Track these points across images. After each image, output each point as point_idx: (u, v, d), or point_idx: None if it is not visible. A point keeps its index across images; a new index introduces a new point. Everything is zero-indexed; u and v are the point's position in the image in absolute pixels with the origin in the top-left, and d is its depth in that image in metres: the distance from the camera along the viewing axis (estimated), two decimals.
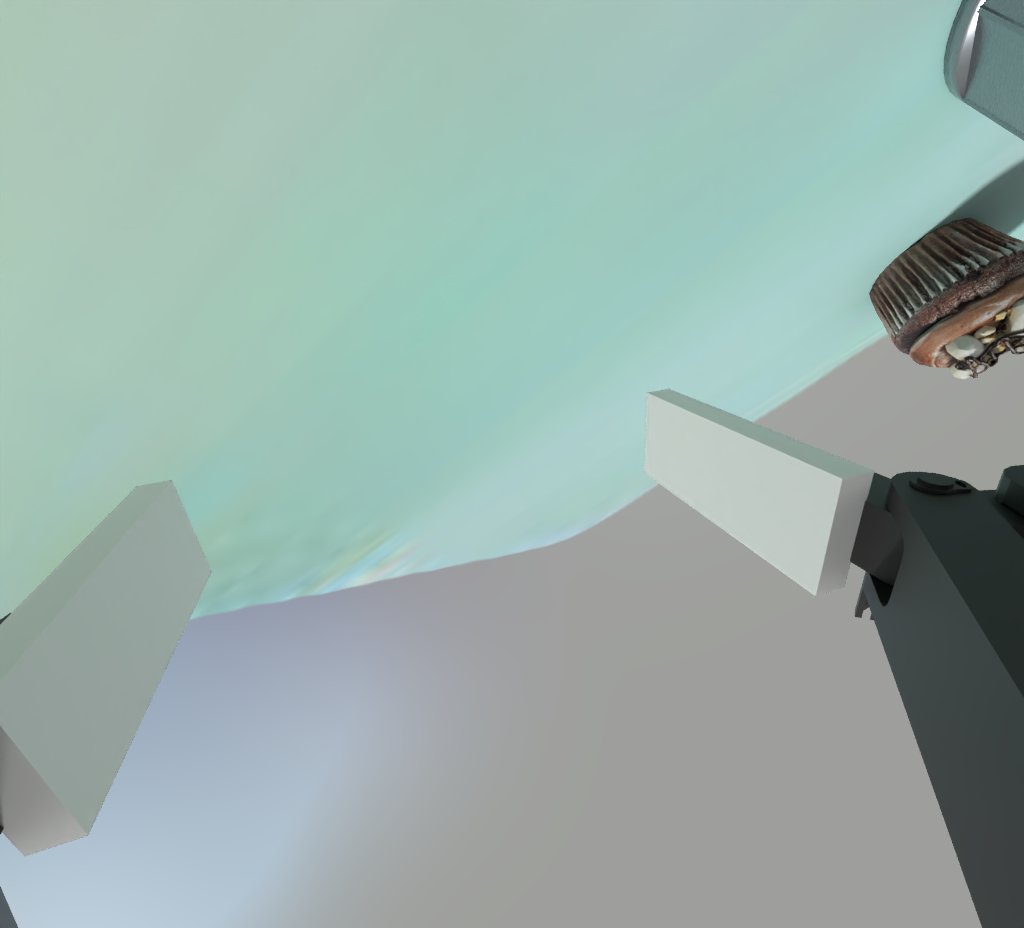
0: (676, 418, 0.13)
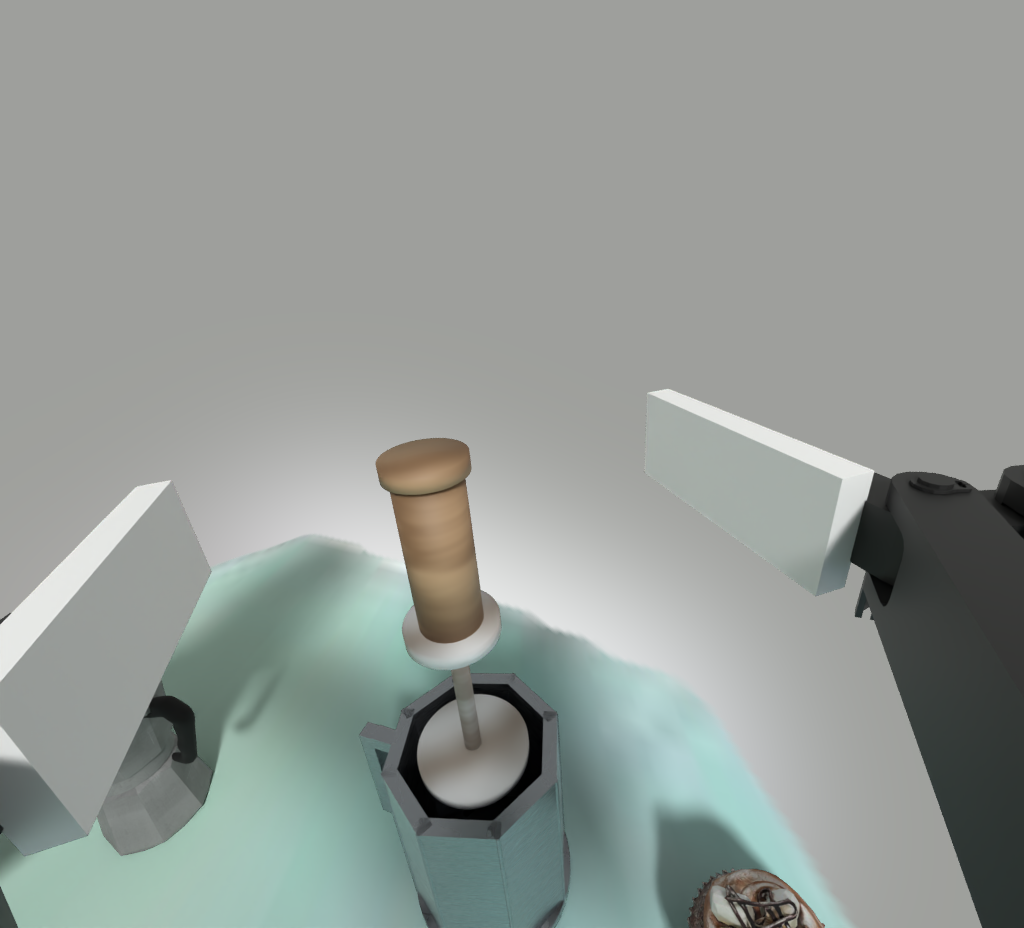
0: (676, 418, 0.13)
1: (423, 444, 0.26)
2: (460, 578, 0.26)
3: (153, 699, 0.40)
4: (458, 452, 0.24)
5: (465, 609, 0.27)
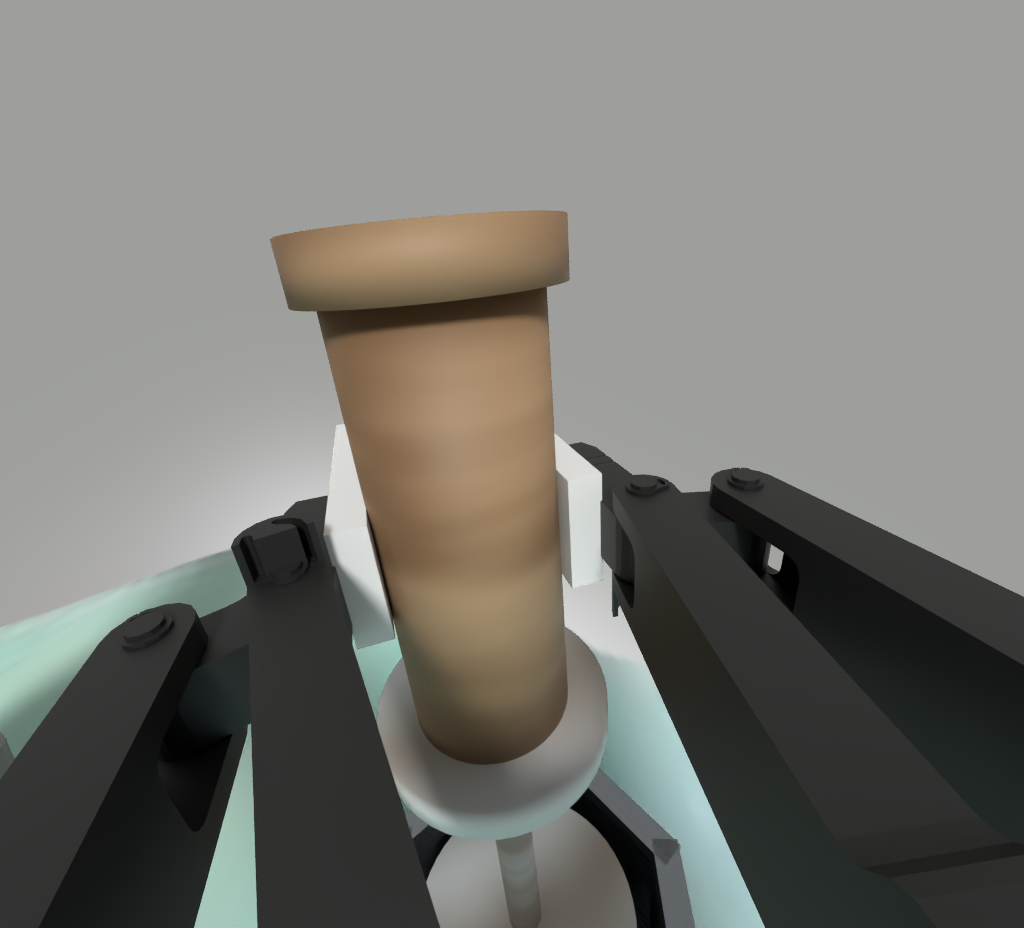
0: None
1: None
2: (529, 601, 0.09)
3: None
4: None
5: (538, 679, 0.10)
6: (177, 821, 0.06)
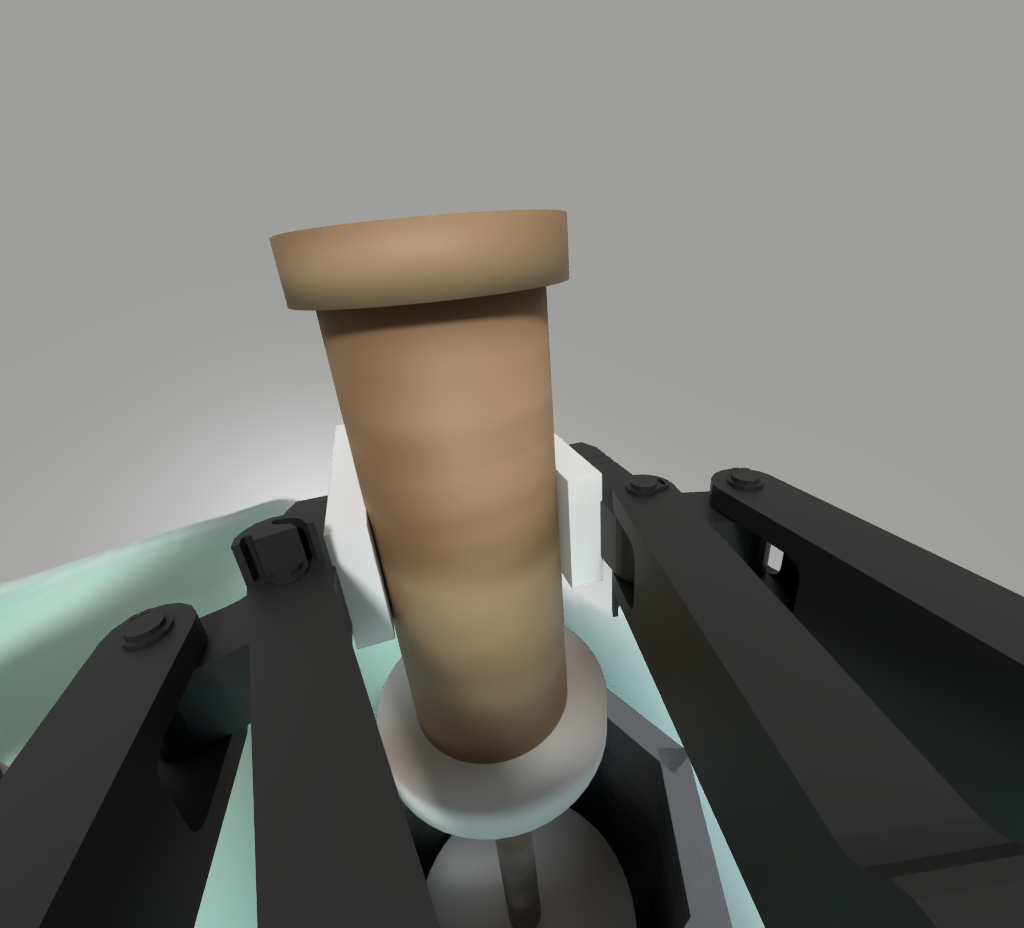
0: None
1: None
2: (528, 601, 0.09)
3: None
4: None
5: (537, 679, 0.10)
6: (177, 821, 0.06)
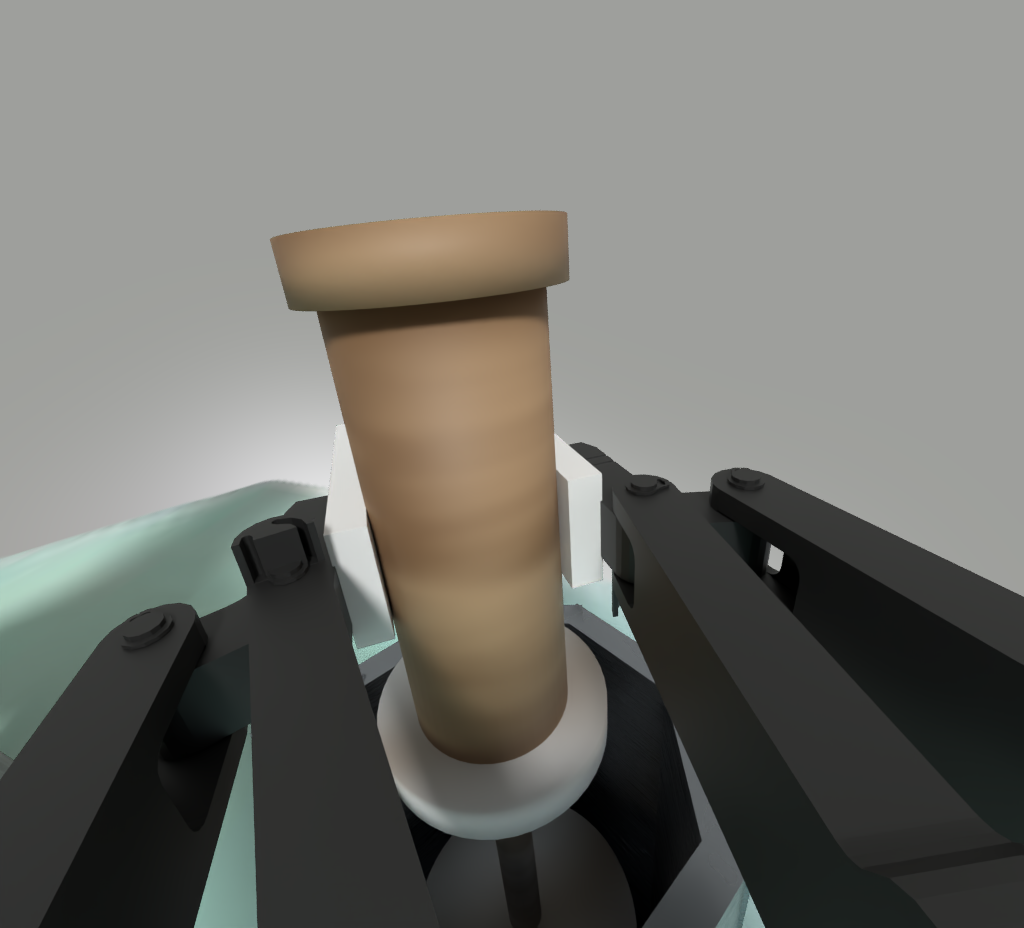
0: None
1: None
2: (529, 601, 0.09)
3: None
4: None
5: (538, 679, 0.10)
6: (177, 821, 0.06)
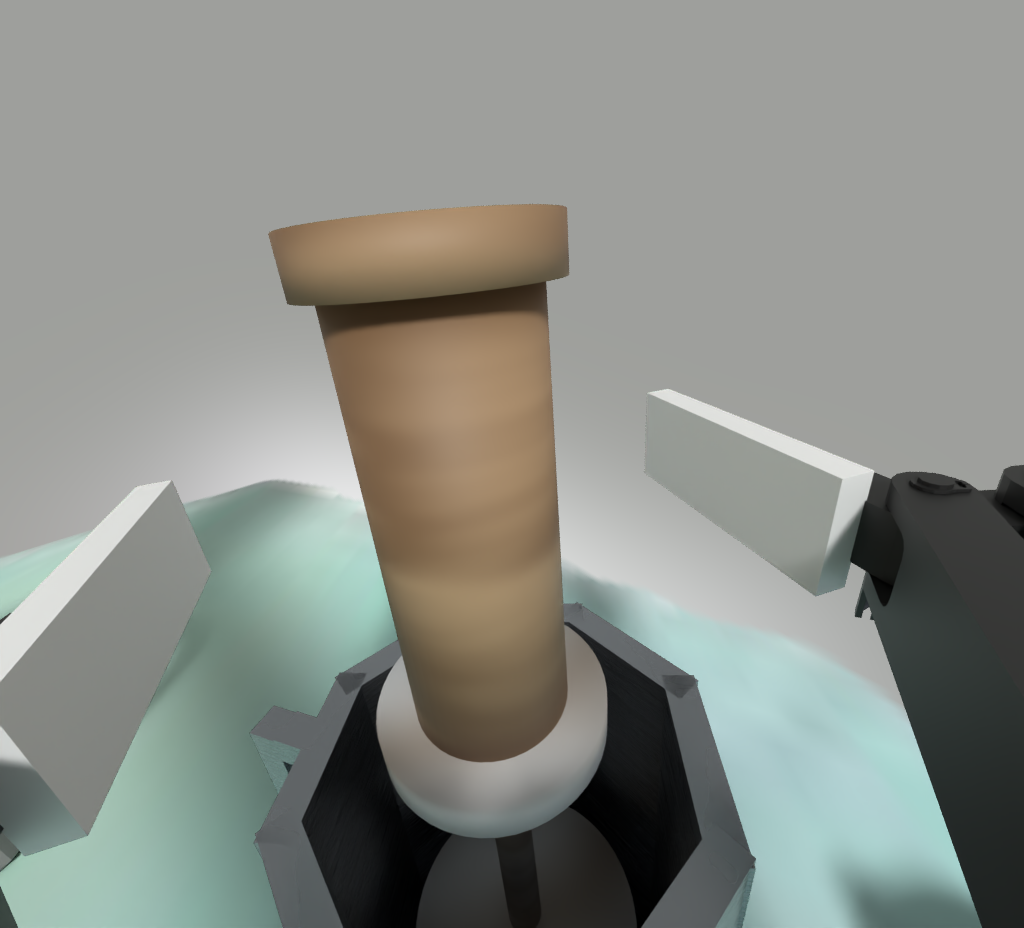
0: (675, 418, 0.13)
1: None
2: (529, 598, 0.09)
3: None
4: None
5: (537, 677, 0.10)
6: None
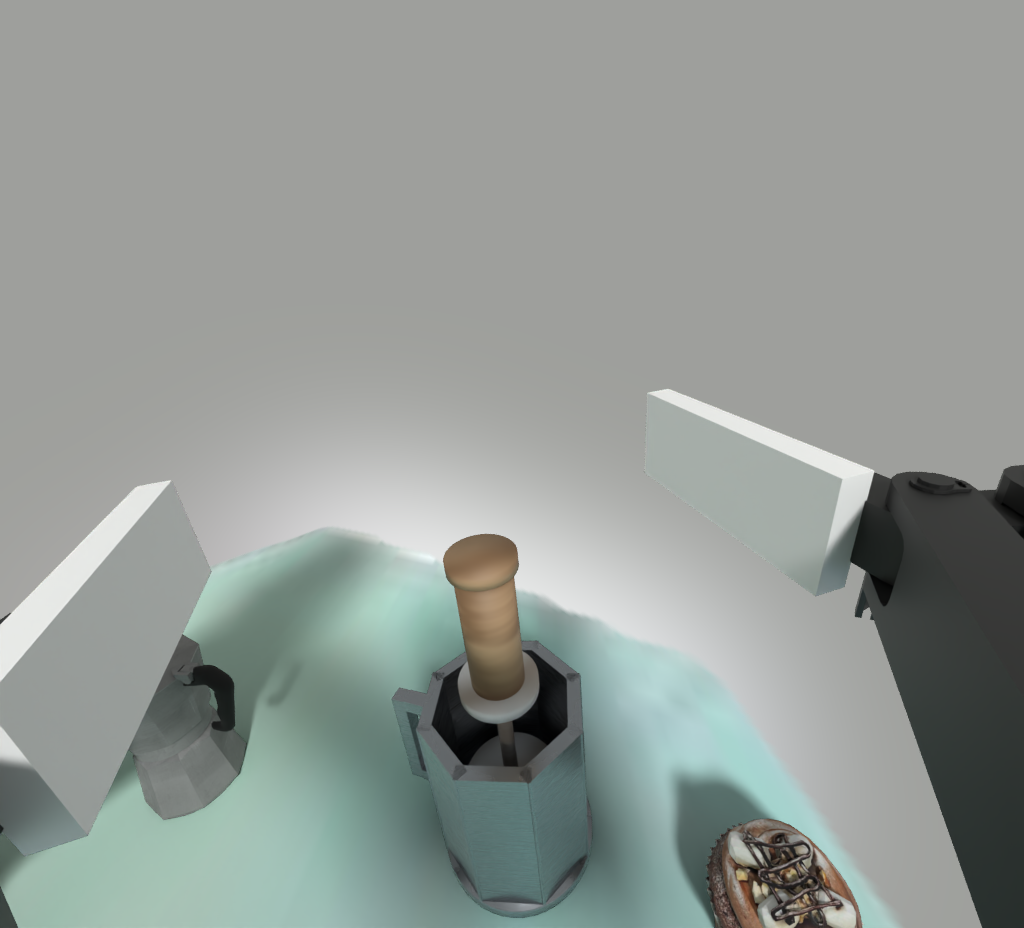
0: (676, 418, 0.13)
1: (477, 540, 0.32)
2: (509, 650, 0.32)
3: (196, 668, 0.42)
4: (508, 551, 0.30)
5: (512, 673, 0.33)
6: None
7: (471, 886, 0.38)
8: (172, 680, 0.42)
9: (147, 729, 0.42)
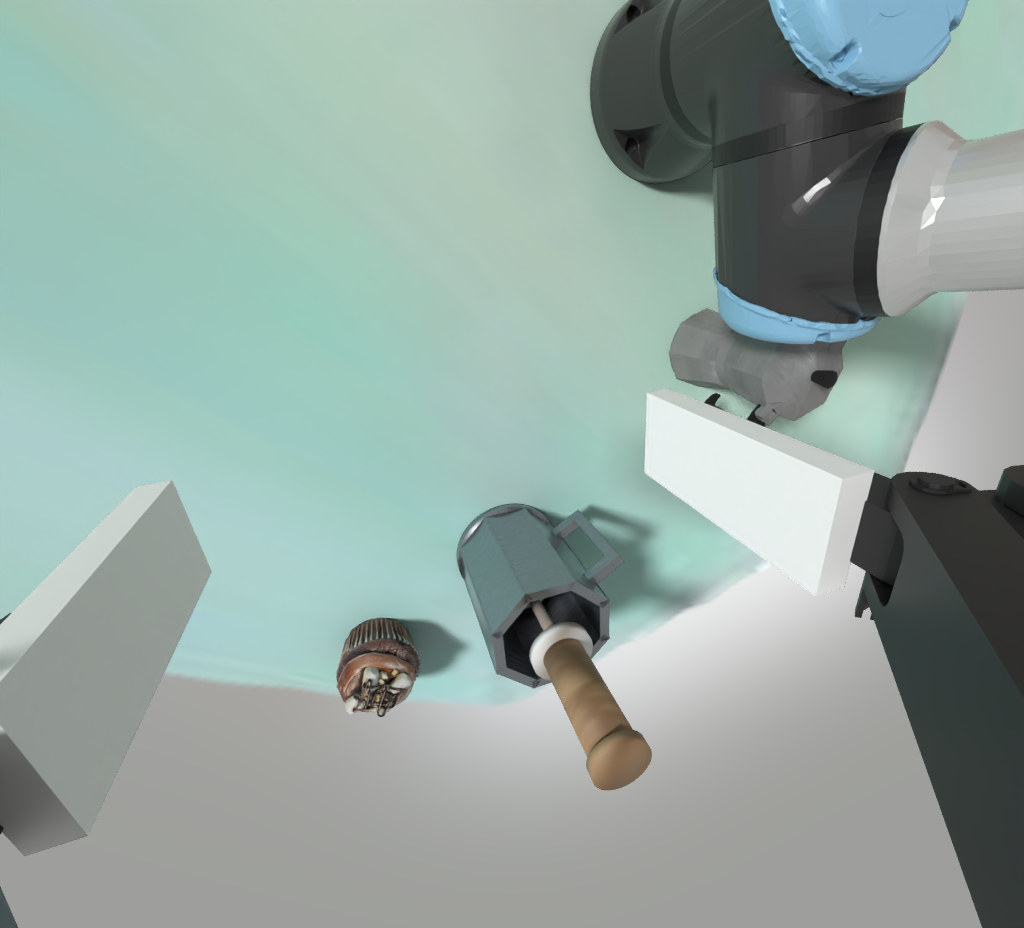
0: (676, 418, 0.13)
1: (639, 767, 0.35)
2: (560, 698, 0.40)
3: (763, 425, 0.44)
4: (608, 784, 0.34)
5: (551, 678, 0.41)
6: None
7: (495, 514, 0.56)
8: (768, 402, 0.44)
9: (744, 363, 0.46)
